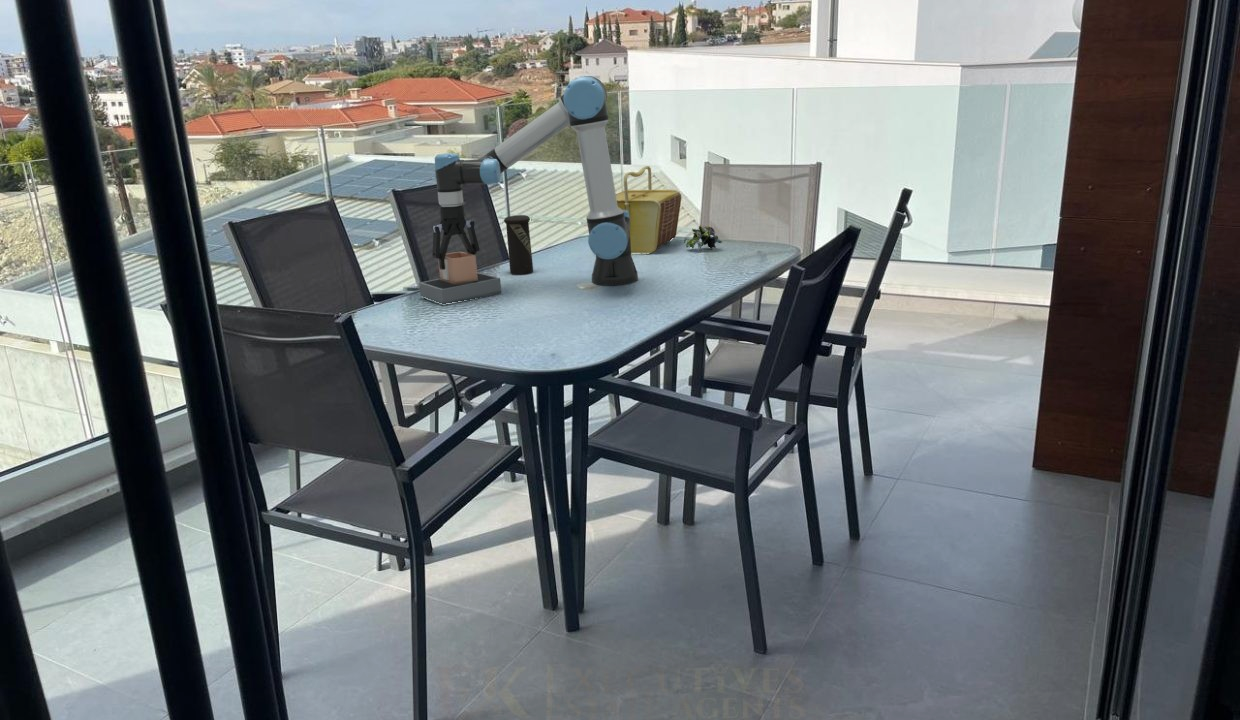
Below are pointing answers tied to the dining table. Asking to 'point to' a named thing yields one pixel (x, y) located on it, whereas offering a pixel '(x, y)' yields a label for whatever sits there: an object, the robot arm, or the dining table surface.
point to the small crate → (460, 268)
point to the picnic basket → (650, 214)
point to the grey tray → (460, 289)
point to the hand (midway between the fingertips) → (458, 276)
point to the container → (519, 244)
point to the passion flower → (703, 237)
